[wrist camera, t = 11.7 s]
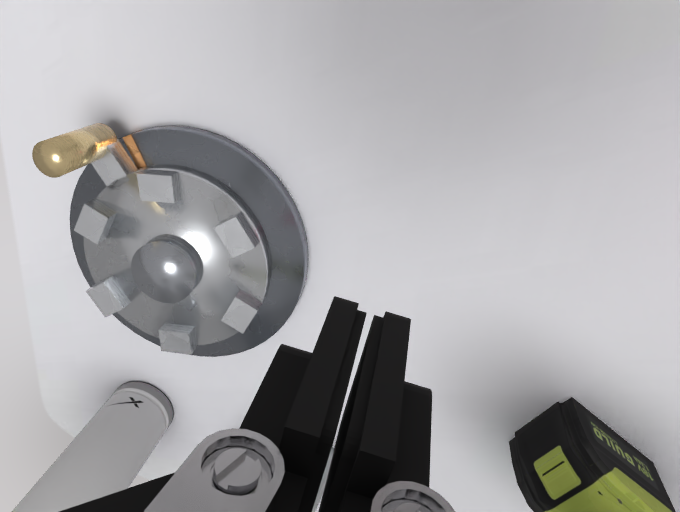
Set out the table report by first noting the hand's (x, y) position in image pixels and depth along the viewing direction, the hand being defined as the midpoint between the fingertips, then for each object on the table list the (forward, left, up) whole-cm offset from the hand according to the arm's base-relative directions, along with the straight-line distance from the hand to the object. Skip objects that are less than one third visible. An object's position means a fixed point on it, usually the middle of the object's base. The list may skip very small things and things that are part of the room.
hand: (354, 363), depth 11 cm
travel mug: (+34, -18, -29) cm, 48 cm away
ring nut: (+13, -16, -27) cm, 34 cm away
